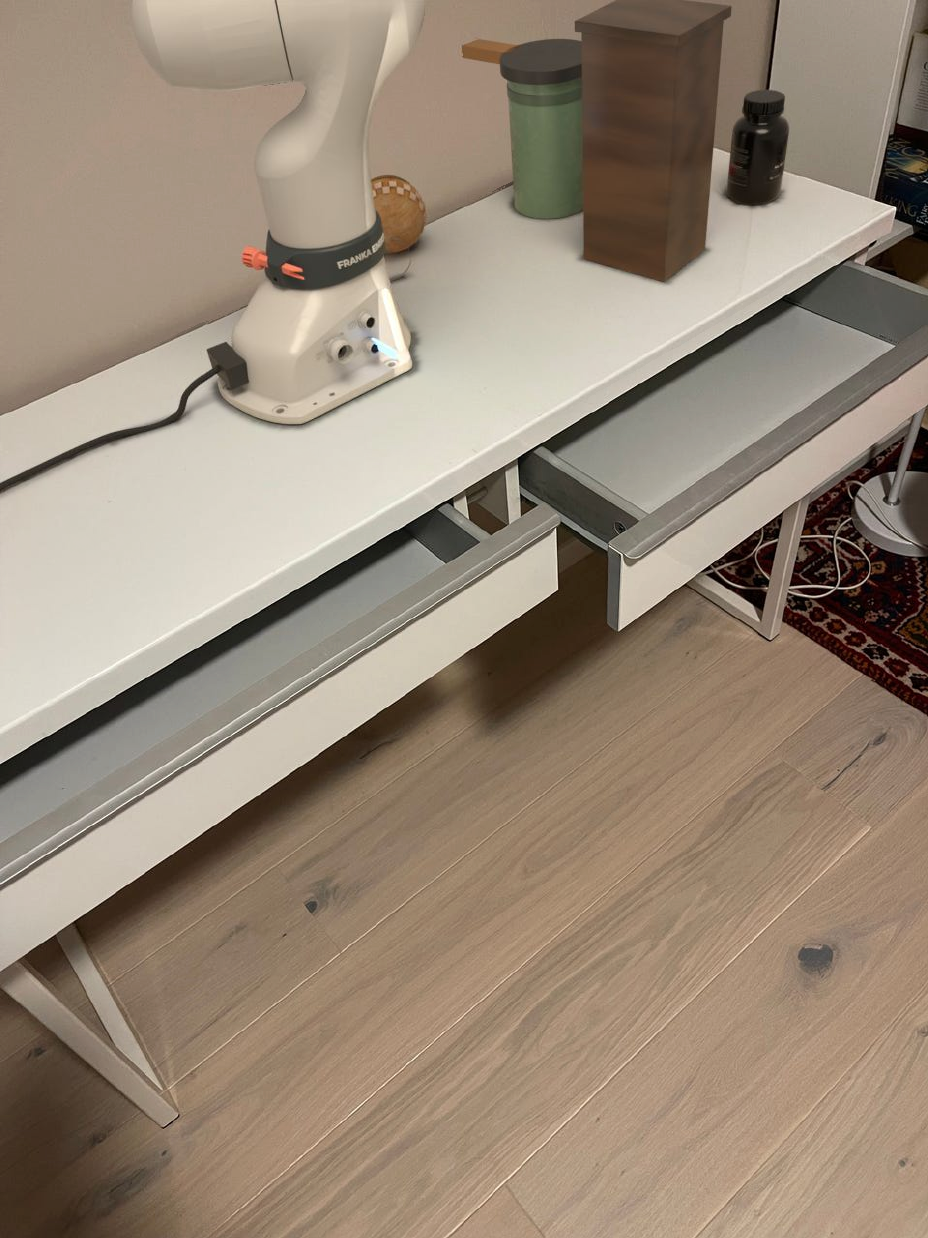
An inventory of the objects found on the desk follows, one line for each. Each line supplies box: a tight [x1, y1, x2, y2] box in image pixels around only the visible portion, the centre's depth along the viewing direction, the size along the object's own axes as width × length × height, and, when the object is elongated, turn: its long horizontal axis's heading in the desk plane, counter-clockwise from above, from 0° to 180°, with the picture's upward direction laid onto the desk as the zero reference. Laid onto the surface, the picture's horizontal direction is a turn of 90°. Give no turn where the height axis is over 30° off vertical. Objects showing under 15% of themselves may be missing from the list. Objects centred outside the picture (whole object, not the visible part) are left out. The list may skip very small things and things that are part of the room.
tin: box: [506, 77, 583, 220], centre depth 127 cm, size 10×10×16 cm
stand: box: [574, 0, 733, 283], centre depth 112 cm, size 10×12×26 cm
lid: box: [462, 38, 582, 85], centre depth 123 cm, size 12×21×2 cm, turn 50°
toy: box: [371, 174, 427, 282], centre depth 123 cm, size 9×9×15 cm
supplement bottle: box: [726, 89, 790, 206], centre depth 125 cm, size 7×7×12 cm
